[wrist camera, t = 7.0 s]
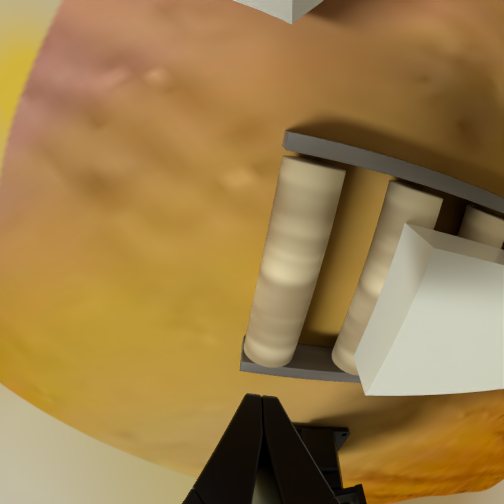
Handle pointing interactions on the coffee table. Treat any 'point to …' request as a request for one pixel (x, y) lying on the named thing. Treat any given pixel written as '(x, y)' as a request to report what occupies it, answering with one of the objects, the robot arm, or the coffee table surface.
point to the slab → (436, 319)
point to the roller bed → (315, 243)
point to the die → (283, 7)
